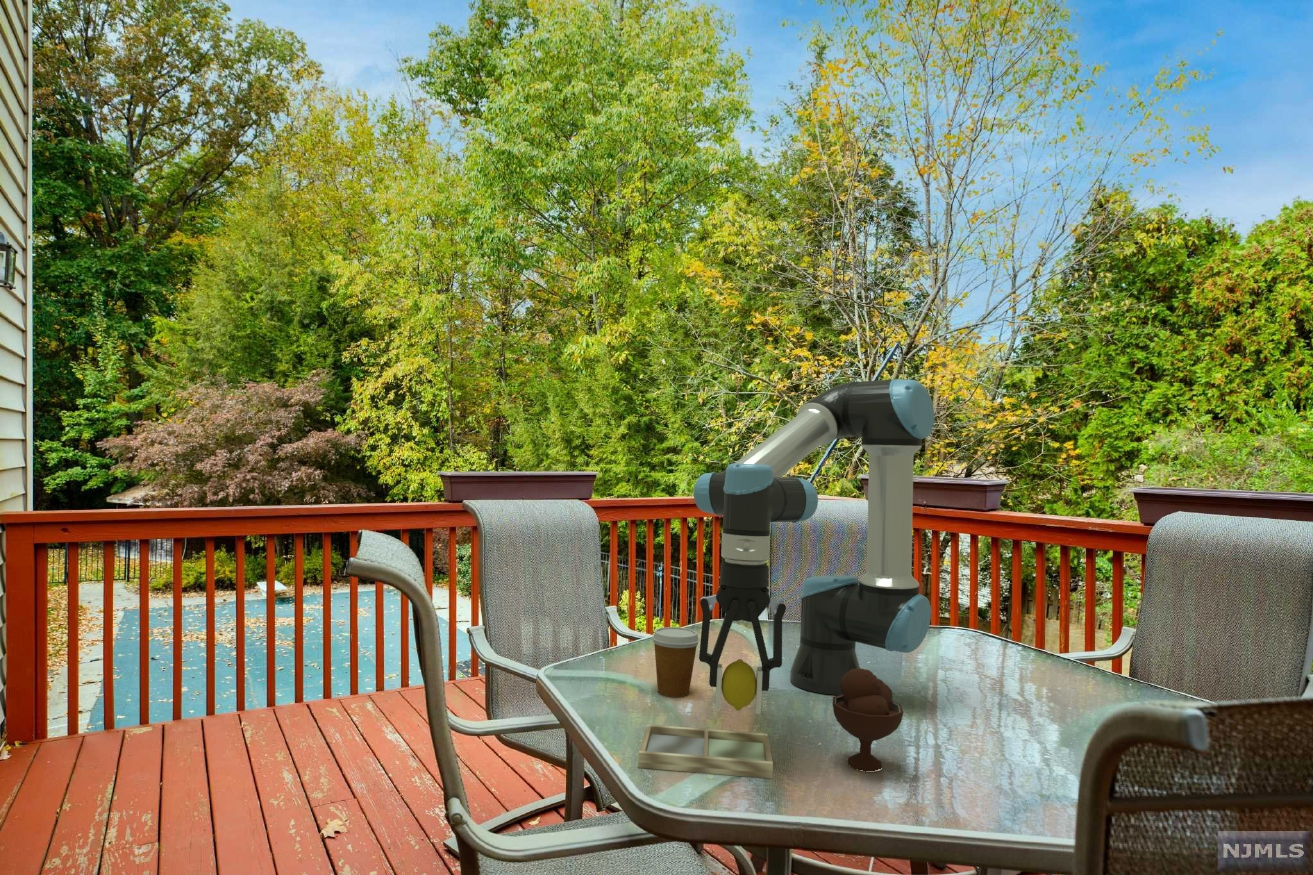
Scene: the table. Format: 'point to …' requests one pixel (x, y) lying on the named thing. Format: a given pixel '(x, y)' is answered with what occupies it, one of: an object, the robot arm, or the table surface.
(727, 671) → the lemon
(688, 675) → the disposable coffee cup
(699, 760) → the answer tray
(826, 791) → the table surface
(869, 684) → the ice cream bowl
